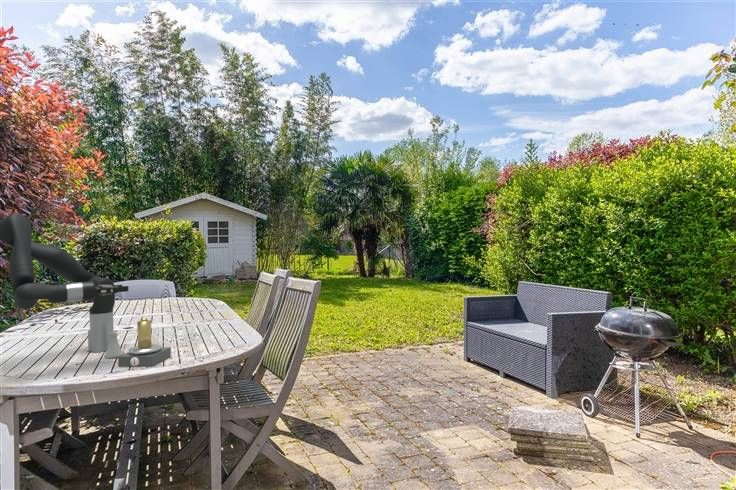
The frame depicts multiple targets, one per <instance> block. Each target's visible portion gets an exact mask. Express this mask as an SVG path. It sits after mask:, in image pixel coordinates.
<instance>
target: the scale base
mask: <svg viewBox="0 0 736 490" xmlns="http://www.w3.org/2000/svg"><path fill="white" fill-rule="evenodd" d="M171 351H172V349H171V347H162V346H161V350H159V351H156V352H152V353H146V354H130V353H129V351H128V352H125V353H123V355H120V356H118V357H117V366H118V367H121V368H122V367H125V368H126V367H128V368H129V367H132V368H134V367H136V368H137V367H141V368H142V367H147V368H148V367H150V368H151V367H154V366H156V365H158V364H160V363H162V362H164V361H166V360H168V359H169V358H171V357H172V352H171Z"/></svg>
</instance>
